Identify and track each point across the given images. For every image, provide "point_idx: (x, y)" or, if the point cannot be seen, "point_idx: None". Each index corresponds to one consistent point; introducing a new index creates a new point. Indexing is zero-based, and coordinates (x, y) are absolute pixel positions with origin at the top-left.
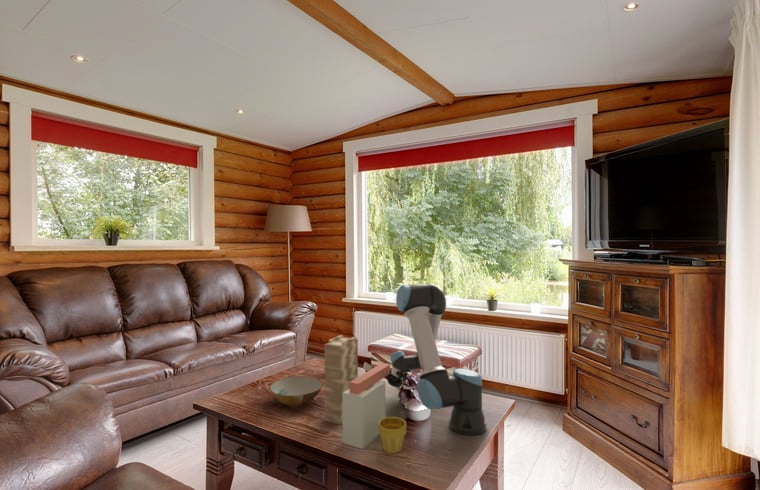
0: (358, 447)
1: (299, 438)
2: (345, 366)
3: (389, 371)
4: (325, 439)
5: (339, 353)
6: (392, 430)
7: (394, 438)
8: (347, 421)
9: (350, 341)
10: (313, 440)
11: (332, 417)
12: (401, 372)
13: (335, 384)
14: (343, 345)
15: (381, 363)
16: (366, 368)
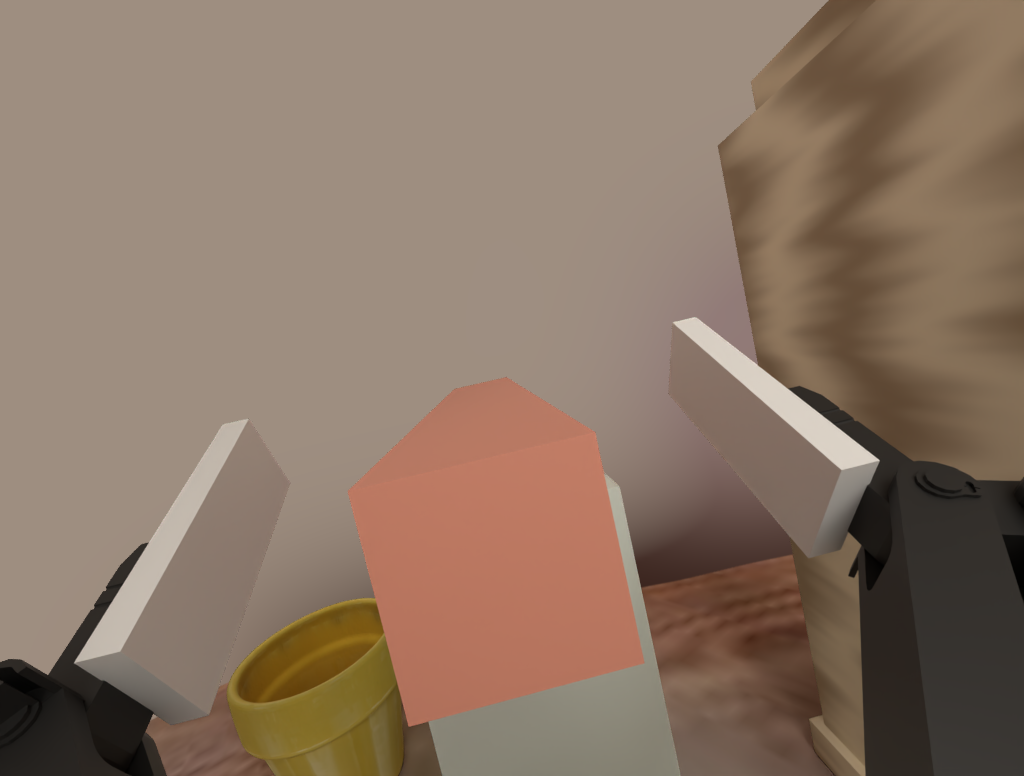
0: None
1: (755, 571)
2: (815, 332)
3: (398, 651)
4: (681, 622)
5: (733, 204)
6: (310, 616)
7: (312, 666)
8: None
9: (860, 4)
10: (705, 593)
11: None
12: (44, 692)
13: None
14: (752, 118)
15: (582, 428)
16: (697, 411)
